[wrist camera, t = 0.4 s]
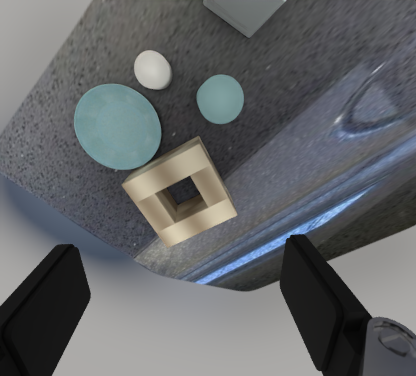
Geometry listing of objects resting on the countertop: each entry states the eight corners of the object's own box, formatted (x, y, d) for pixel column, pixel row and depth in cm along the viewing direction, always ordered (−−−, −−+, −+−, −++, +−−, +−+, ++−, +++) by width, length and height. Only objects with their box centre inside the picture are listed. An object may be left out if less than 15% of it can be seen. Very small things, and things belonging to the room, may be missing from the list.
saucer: (177, 118, 33) (176, 119, 31) (138, 179, 37) (135, 184, 35) (104, 65, 30) (97, 63, 28) (68, 137, 34) (59, 140, 31)
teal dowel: (216, 76, 31) (232, 65, 18) (228, 104, 33) (250, 110, 20) (191, 91, 32) (189, 89, 19) (204, 117, 33) (210, 131, 20)
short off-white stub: (162, 51, 30) (157, 43, 25) (178, 80, 31) (175, 78, 27) (137, 66, 30) (127, 61, 26) (153, 94, 32) (146, 95, 27)
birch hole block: (198, 135, 34) (199, 143, 29) (231, 197, 39) (237, 215, 33) (132, 170, 36) (121, 184, 30) (171, 226, 40) (167, 247, 35)
